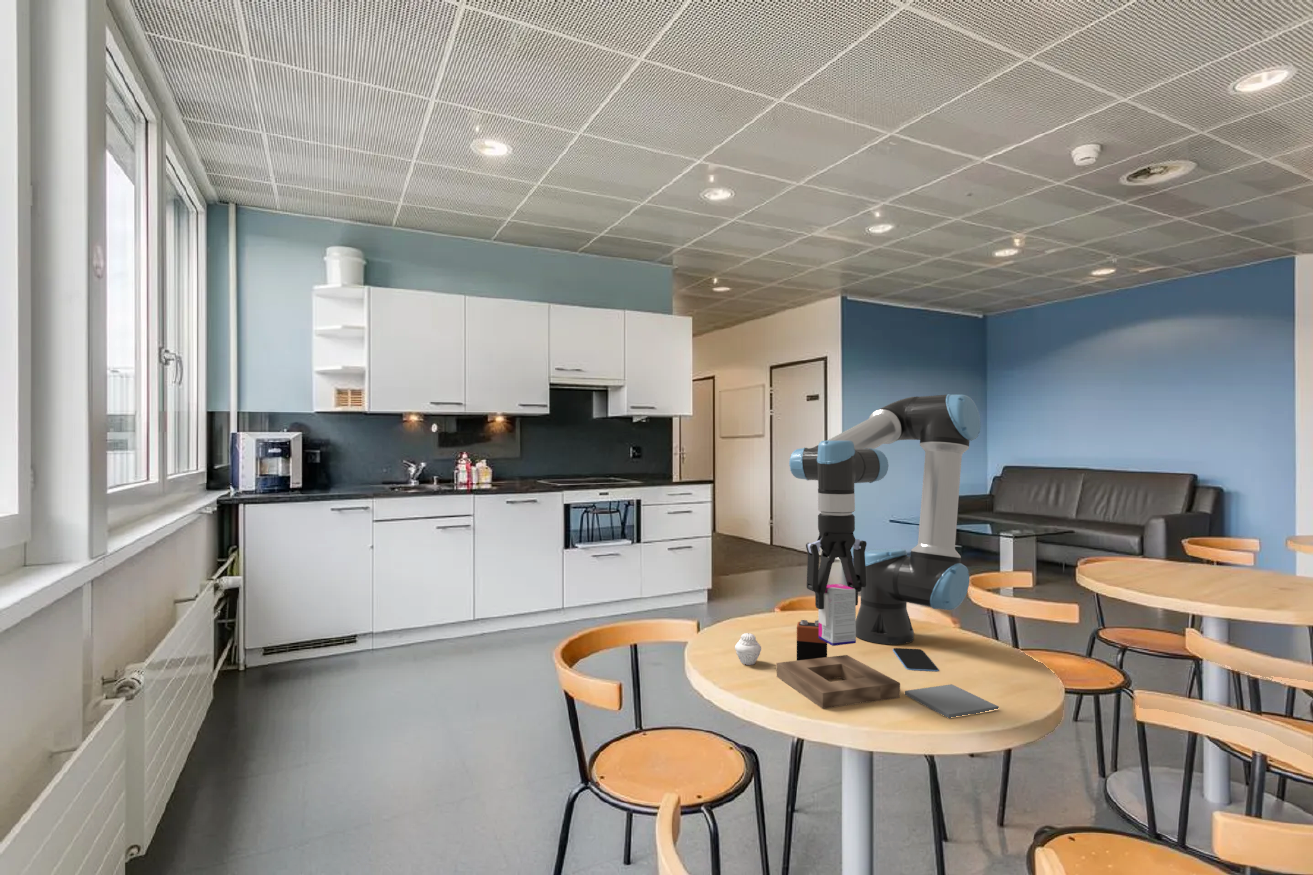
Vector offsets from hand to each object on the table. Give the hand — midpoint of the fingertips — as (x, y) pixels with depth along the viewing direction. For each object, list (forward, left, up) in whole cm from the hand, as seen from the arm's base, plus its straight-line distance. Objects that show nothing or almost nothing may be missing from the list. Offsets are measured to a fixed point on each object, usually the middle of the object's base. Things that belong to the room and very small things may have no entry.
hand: (836, 622), depth 135 cm
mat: (-17, +14, -13) cm, 26 cm away
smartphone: (-28, -9, -14) cm, 32 cm away
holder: (0, 0, -13) cm, 13 cm away
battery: (-3, -14, -14) cm, 20 cm away
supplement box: (0, 0, -4) cm, 4 cm away
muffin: (+11, -19, -14) cm, 26 cm away
